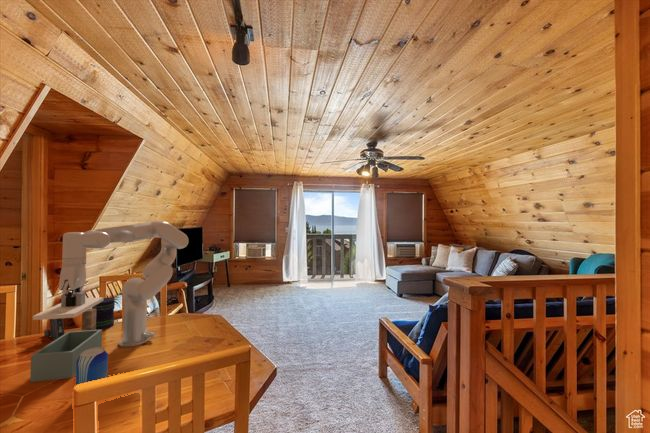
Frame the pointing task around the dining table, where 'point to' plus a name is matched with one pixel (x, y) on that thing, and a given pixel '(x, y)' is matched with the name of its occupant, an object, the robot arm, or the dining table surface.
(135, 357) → the dining table surface
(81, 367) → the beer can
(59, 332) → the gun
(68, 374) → the toolbox
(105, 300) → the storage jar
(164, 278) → the robot arm
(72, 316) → the lid
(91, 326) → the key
